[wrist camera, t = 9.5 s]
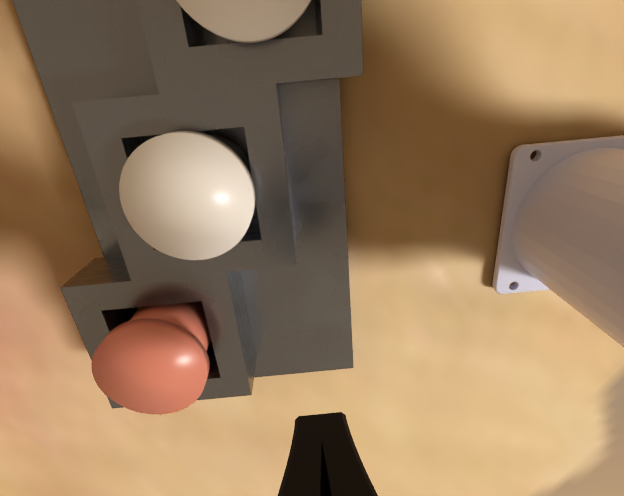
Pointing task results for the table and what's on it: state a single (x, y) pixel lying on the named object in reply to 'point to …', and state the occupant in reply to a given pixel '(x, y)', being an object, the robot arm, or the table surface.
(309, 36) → the panel
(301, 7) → the cream mushroom knob
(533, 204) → the robot arm
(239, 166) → the plug cream mid
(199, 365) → the plug red
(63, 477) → the table surface
